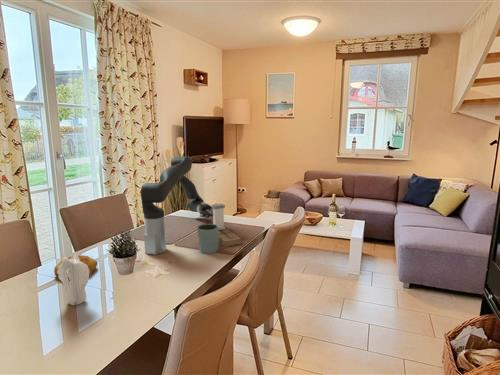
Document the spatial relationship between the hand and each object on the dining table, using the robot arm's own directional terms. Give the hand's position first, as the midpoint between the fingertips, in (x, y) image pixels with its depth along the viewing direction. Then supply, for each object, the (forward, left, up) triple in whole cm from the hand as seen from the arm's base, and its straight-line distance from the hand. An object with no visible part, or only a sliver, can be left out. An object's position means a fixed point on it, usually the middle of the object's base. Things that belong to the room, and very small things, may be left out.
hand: (215, 216), depth 181 cm
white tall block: (-2, -3, -6) cm, 7 cm away
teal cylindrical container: (-24, -8, -10) cm, 27 cm away
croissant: (-66, +31, -10) cm, 73 cm away
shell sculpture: (-82, +12, -10) cm, 83 cm away
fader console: (-7, -8, -9) cm, 14 cm away
